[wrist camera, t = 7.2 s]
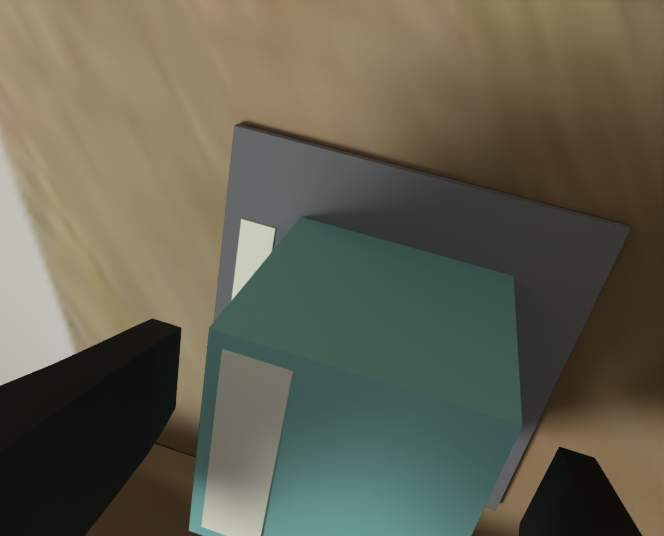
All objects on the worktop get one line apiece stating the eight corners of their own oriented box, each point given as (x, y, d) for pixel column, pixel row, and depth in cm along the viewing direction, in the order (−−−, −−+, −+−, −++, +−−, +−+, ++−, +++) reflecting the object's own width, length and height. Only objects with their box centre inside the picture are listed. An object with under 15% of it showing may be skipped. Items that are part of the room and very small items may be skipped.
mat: (495, 504, 15) (495, 512, 15) (207, 408, 16) (203, 414, 16) (628, 225, 11) (631, 230, 11) (238, 123, 12) (233, 125, 12)
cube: (513, 275, 12) (522, 427, 8) (450, 438, 14) (432, 622, 10) (300, 216, 12) (207, 329, 8) (272, 381, 15) (187, 533, 11)
